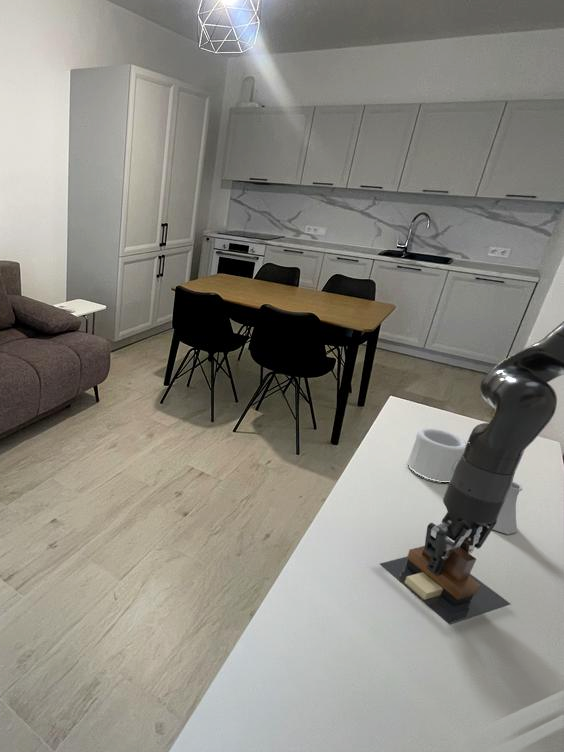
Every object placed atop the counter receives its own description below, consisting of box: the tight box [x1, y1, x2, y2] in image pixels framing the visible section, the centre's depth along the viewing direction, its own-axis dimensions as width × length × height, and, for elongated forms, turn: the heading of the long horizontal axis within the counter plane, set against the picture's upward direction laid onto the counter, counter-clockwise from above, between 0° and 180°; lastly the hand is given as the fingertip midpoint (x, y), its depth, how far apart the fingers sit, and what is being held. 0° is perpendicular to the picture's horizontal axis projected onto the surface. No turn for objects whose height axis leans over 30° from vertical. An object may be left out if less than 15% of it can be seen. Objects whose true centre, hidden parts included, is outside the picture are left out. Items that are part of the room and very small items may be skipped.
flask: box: [492, 481, 523, 535], centre depth 105 cm, size 7×7×10 cm
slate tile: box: [379, 556, 511, 626], centre depth 88 cm, size 15×14×1 cm
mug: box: [407, 427, 467, 484], centre depth 125 cm, size 14×11×10 cm
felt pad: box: [404, 572, 443, 600], centre depth 86 cm, size 4×4×2 cm
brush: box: [406, 537, 480, 605], centre depth 86 cm, size 4×10×8 cm, turn 20°
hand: (444, 568), depth 86 cm, fingers closed on brush, 4 cm apart
